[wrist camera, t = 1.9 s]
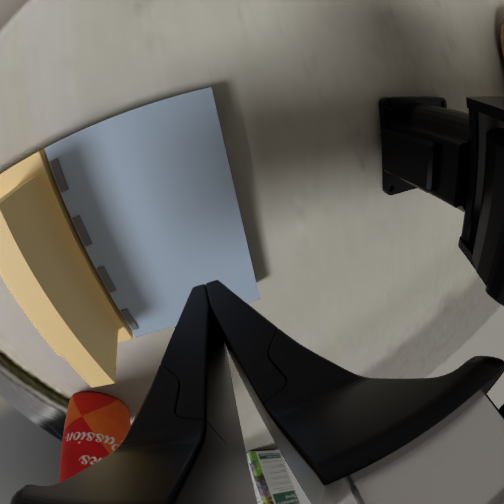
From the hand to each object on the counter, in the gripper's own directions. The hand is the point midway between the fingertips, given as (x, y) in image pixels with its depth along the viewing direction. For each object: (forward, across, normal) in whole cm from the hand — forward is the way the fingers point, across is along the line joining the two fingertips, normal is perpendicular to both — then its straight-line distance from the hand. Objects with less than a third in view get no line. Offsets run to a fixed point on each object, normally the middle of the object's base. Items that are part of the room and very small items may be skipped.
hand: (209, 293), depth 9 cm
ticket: (+7, +2, 0) cm, 7 cm away
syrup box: (+7, +4, +39) cm, 40 cm away
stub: (+7, +9, 0) cm, 11 cm away
